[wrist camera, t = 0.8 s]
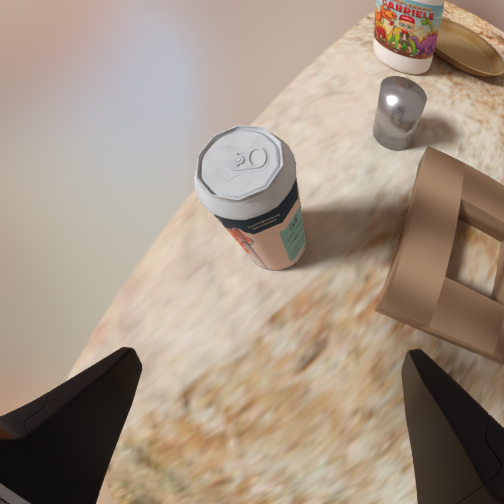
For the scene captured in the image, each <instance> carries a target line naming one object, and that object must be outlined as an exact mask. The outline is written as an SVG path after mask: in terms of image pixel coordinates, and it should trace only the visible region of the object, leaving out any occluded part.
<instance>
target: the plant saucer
mask: <svg viewBox="0 0 504 504" xmlns="http://www.w3.org/2000/svg"><path fill="white" fill-rule="evenodd" d="M434 52H435V53H436V54H437V55H438V56H439V57H441V58H442V59H443V60H445V61H446V62H448V63H449V64H451V65H453V66H454V67H456V68H458V69H460V70H462V71H464V72H467V73H469V74H472V75H476V76H497V75H501V74H503V73H504V61H503V59H502V58H501V56H500V55H499V53H498V52H497V51H496V50H495V48H494V47H493V46H492V45H491V44H489V43H488V42H487V41H486V40H485V39H484V38H482V37H481V36H480V35H478V34H477V33H475V32H474V31H472V30H470V29H468V28H467V27H465V26H463V25H461V24H458V23H456V22H453V21H451V20H448V19H444V18H442V19H441V24H440V29H439V34H438V38H437V42H436V47H435V51H434Z"/></svg>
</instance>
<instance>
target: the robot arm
mask: <svg viewBox="0 0 504 504" xmlns="http://www.w3.org/2000/svg"><path fill="white" fill-rule="evenodd" d="M141 372H142V363H141V361H140V359H139V357H138V355H137V353H136V351H135V350H134V349H133V348H130V347H122V348H120V349H119V350H117V351H115V352H114V353H112V354H110V355H109V356H107V357H106V358H104V359H102V360H101V361H99V362H97V363H96V364H94V365H92V366H91V367H89V368H87V369H86V370H84V371H83V372H81V373H79V374H78V375H76V376H74V377H73V378H71V379H69V380H68V381H66V382H64V383H63V384H61V385H59V386H58V387H56V388H54V389H53V390H51V391H50V392H48V393H46V394H44V395H43V396H41V397H39V398H37V399H36V400H34V401H32V402H30V403H28V404H26V405H24V406H22V407H20V408H18V409H16V410H14V411H12V412H10V413H7V414H5V415H3V416H0V504H96V502H97V499H98V496H99V491H100V489H101V486H102V483H103V481H104V478H105V475H106V472H107V469H108V466H109V464H110V461H111V458H112V455H113V453H114V450H115V447H116V444H117V442H118V439H119V437H120V434H121V431H122V429H123V426H124V424H125V421H126V418H127V416H128V413H129V411H130V408H131V406H132V403H133V399H134V396H135V392H136V389H137V385H138V382H139V379H140V375H141ZM402 382H403V392H404V403H405V414H406V421H407V427H408V432H409V438H410V444H411V450H412V457H413V464H414V471H415V480H416V489H417V500H418V504H504V428H503V427H502V426H501V425H500V424H499V423H498V422H497V421H496V420H495V419H494V418H493V417H492V416H491V415H489V413H488V412H487V411H486V410H485V409H484V408H483V407H482V406H481V405H480V404H479V403H478V402H477V401H475V400H474V399H473V398H472V397H471V396H470V395H469V394H468V393H467V392H466V391H465V390H464V389H463V388H462V387H461V386H460V385H459V384H458V383H457V382H456V381H455V380H454V379H452V378H451V377H450V376H449V375H448V374H447V373H446V372H445V371H444V370H443V369H442V368H441V367H440V366H439V365H437V364H436V363H435V362H434V361H433V360H432V359H431V358H430V357H429V356H428V355H427V354H425V353H424V352H423V351H422V350H421V349H414V350H409V351H408V352H407V353H406V357H405V360H404V364H403V367H402Z"/></svg>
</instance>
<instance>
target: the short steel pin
mask: <svg viewBox="0 0 504 504" xmlns="http://www.w3.org/2000/svg"><path fill="white" fill-rule="evenodd" d="M426 100H427V97H426V94H425V92H424V90H423V89H422V88H421V87H420V86H419V85H418V84H416V83H415V82H413V81H412V80H410V79H407V78H404V77H399V76H390V77H387V78H385V79H384V80H383V81H382V83H381V88H380V94H379V100H378V105H377V111H376V116H375V122H374V127H373V134H374V137H375V139H376V140H377V141H378V142H379V143H380V144H381V145H382V146H384V147H385V148H388V149H390V150H395V151H401V150H404V149H406V148H408V147H409V146H410V144H411V141H412V139H413V136H414V134H415V131H416V129H417V126H418V123H419V121H420V118H421V115H422V112H423V109H424V107H425V104H426Z"/></svg>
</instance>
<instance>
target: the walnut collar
mask: <svg viewBox="0 0 504 504" xmlns="http://www.w3.org/2000/svg"><path fill="white" fill-rule="evenodd" d="M458 219H460V220H462V221H464V222H466V223H468V224H470V225H472V226H473V227H475V228H477V229H479V230H481V231H483V232H484V233H486V234H488V235H490V236H492V237H493V238H495V239H497V240H499V241H500V242H501V248H500V255H499V262H498V267H497V273H496V278H495V283H494V288H493V292H492V297H491V299H490V298H488V297H486V296H484V295H482V294H480V293H478V292H476V291H474V290H472V289H470V288H468V287H466V286H464V285H462V284H460V283H457V282H455V281H453V280H451V279H449V278H447V277H445V274H446V270H447V266H448V262H449V258H450V254H451V250H452V245H453V241H454V236H455V231H456V225H457V220H458ZM374 311H377V312H379V313H381V314H384V315H386V316H388V317H391V318H393V319H395V320H398V321H400V322H403V323H405V324H407V325H410V326H412V327H414V328H417V329H419V330H421V331H424V332H426V333H429V334H431V335H433V336H436V337H438V338H440V339H443V340H445V341H448V342H450V343H452V344H455V345H457V346H459V347H462V348H464V349H467V350H469V351H471V352H474V353H476V354H479V355H481V356H483V357H486V358H488V359H491V360H493V361H495V362H498V363H500V364H504V185H502V184H500V183H499V182H497V181H495V180H494V179H492V178H490V177H489V176H487V175H485V174H483V173H482V172H480V171H478V170H476V169H474V168H473V167H471V166H469V165H467V164H465V163H463V162H461V161H459V160H457V159H455V158H453V157H451V156H449V155H447V154H445V153H443V152H441V151H439V150H436V149H434V148H432V147H430V146H428V147H427V149H426V151H425V153H424V155H423V157H422V159H421V161H420V163H419V166H418V171H417V175H416V180H415V184H414V188H413V193H412V197H411V201H410V205H409V208H408V212H407V216H406V220H405V223H404V227H403V230H402V233H401V237H400V240H399V243H398V246H397V250H396V253H395V256H394V259H393V262H392V265H391V268H390V271H389V273H388V276H387V279H386V282H385V285H384V287H383V290H382V293H381V295H380V298H379V300H378V303H377V305H376V308H375V310H374Z"/></svg>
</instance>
